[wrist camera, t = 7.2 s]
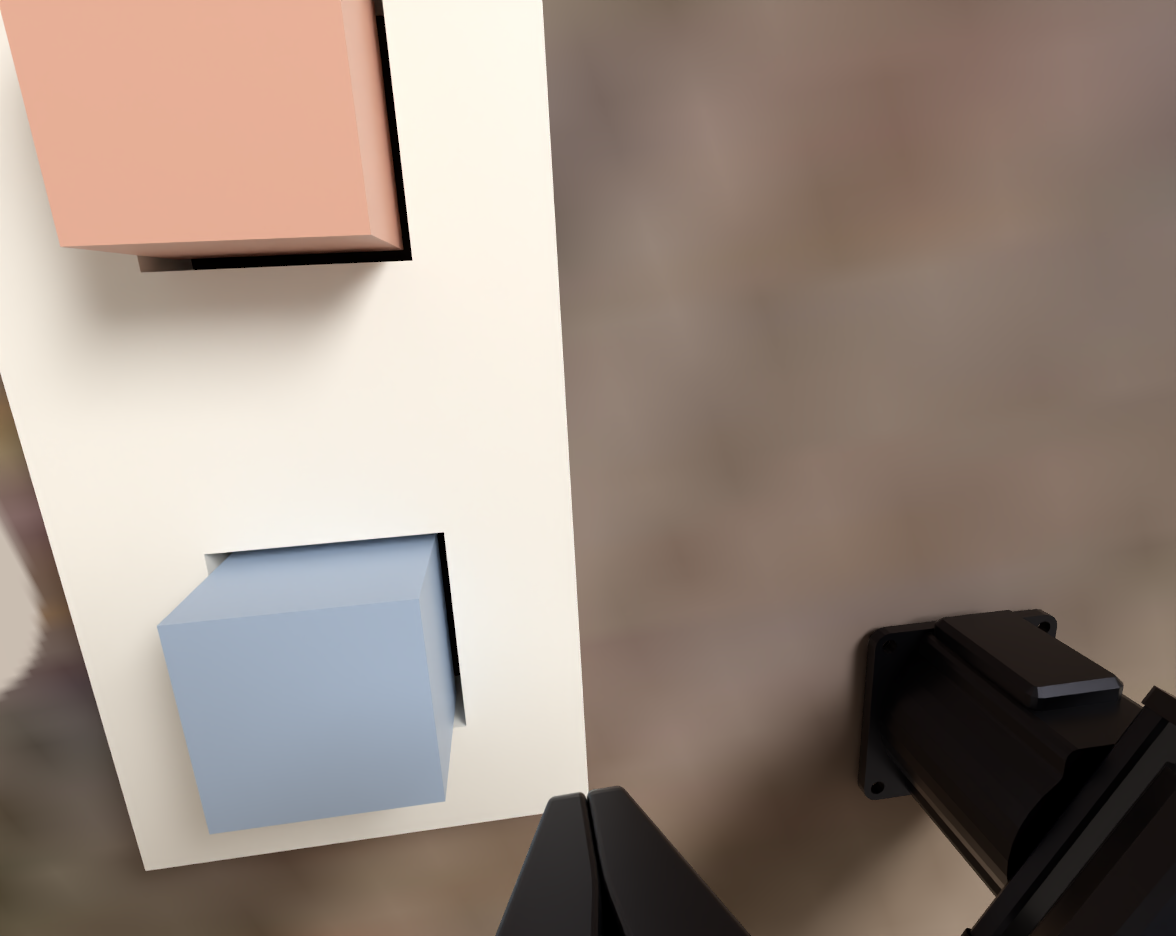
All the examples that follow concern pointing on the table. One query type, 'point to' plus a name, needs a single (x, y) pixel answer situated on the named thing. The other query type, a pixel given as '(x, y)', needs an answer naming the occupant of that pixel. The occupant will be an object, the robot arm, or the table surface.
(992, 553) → the table surface
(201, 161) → the terracotta key
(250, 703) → the slate key
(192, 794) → the key panel
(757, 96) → the table surface
